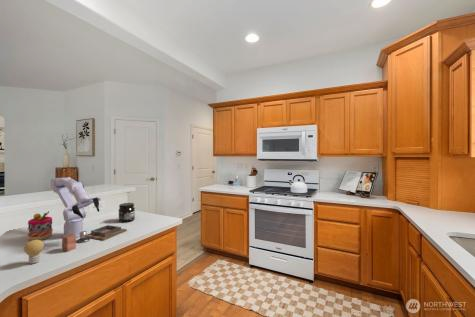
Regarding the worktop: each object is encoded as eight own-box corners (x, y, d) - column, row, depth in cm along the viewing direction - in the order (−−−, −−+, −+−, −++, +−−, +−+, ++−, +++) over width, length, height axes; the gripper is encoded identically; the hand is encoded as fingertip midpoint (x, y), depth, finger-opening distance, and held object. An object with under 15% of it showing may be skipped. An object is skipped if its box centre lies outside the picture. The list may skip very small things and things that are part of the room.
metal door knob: (73, 242, 118) (73, 233, 118) (84, 238, 124) (84, 229, 124) (81, 243, 116) (81, 234, 116) (92, 239, 122) (92, 230, 122)
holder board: (84, 237, 125) (84, 232, 125) (108, 228, 141) (108, 223, 141) (103, 240, 121) (103, 235, 121) (126, 230, 136) (126, 226, 136)
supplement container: (120, 219, 160) (120, 203, 159) (135, 217, 163) (135, 202, 163) (117, 223, 150) (116, 206, 149) (133, 222, 153) (133, 205, 152)
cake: (25, 243, 117) (24, 215, 116) (30, 236, 126) (30, 211, 125) (50, 239, 122) (50, 212, 122) (54, 233, 131) (53, 208, 131)
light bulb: (47, 258, 100) (47, 237, 100) (35, 266, 93) (34, 243, 93) (33, 258, 100) (33, 237, 99) (20, 266, 93) (19, 243, 93)
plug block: (62, 250, 108) (61, 236, 108) (70, 247, 112) (70, 234, 112) (67, 251, 107) (67, 237, 107) (75, 248, 111) (75, 235, 111)
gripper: (64, 198, 114) (72, 215, 108) (94, 187, 124) (104, 202, 117) (67, 206, 119) (75, 223, 112) (96, 195, 128) (106, 211, 122)
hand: (90, 213), depth 115 cm, fingers open, 7 cm apart
